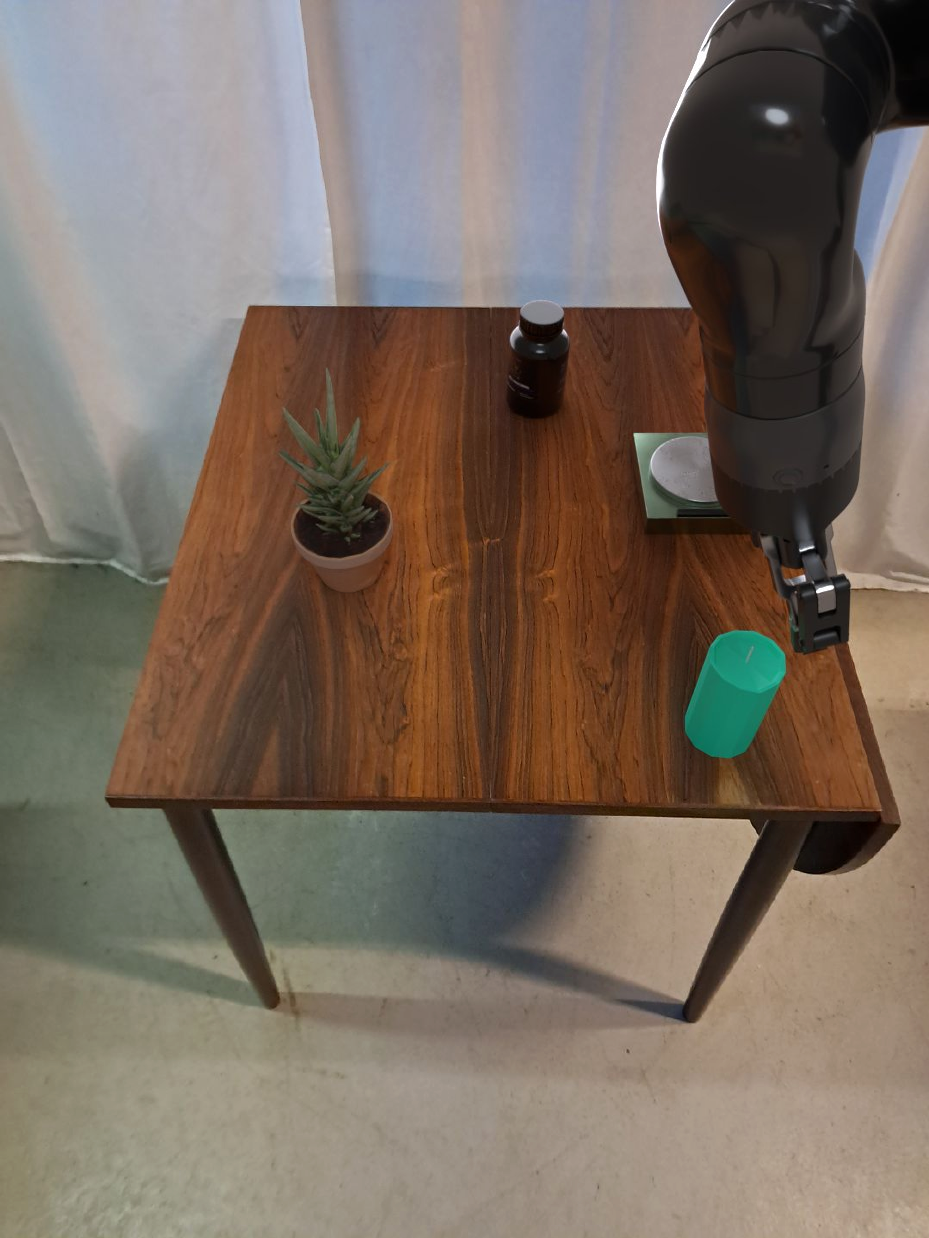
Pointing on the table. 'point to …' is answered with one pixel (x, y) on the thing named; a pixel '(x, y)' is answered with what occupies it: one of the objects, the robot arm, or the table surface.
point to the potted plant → (338, 507)
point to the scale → (678, 485)
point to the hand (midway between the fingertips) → (788, 590)
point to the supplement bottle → (538, 360)
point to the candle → (734, 692)
